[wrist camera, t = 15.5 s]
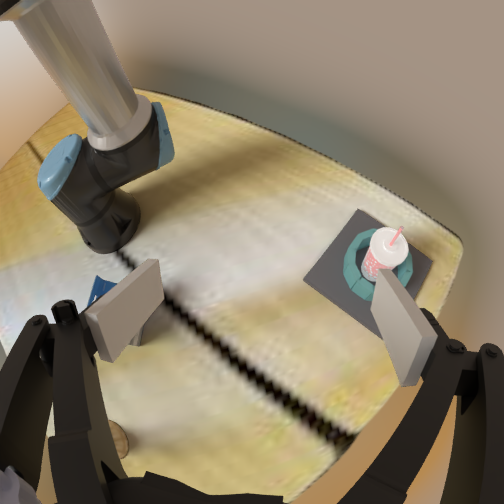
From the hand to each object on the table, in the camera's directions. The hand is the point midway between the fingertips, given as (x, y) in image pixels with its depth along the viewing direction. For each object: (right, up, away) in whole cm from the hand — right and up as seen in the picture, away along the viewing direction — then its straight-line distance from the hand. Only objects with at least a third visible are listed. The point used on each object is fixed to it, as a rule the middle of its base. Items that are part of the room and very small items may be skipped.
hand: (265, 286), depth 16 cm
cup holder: (+20, -2, +29) cm, 36 cm away
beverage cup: (+20, -1, +29) cm, 35 cm away
